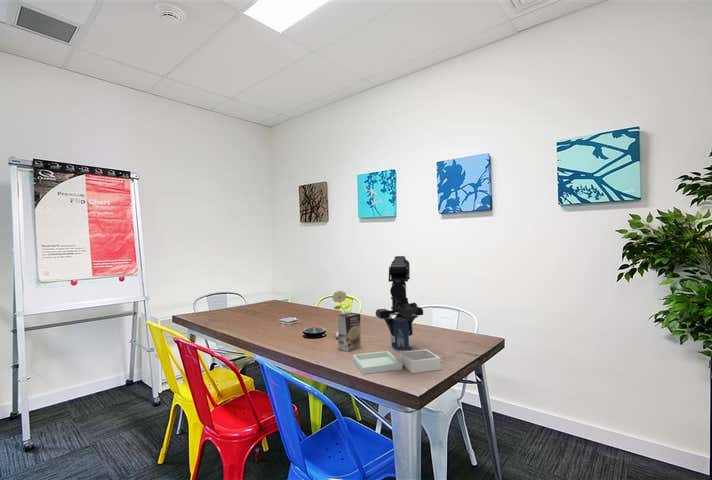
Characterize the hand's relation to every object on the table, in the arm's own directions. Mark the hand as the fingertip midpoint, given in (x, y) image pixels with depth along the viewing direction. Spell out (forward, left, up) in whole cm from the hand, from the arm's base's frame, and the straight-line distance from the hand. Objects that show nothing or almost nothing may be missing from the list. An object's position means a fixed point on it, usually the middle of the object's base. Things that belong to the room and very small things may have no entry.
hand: (400, 333), depth 137 cm
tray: (-4, -9, -13) cm, 16 cm away
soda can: (0, 0, -6) cm, 6 cm away
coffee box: (-29, -14, -13) cm, 35 cm away
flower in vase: (-48, -12, -13) cm, 51 cm away
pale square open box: (+3, +7, -13) cm, 15 cm away
